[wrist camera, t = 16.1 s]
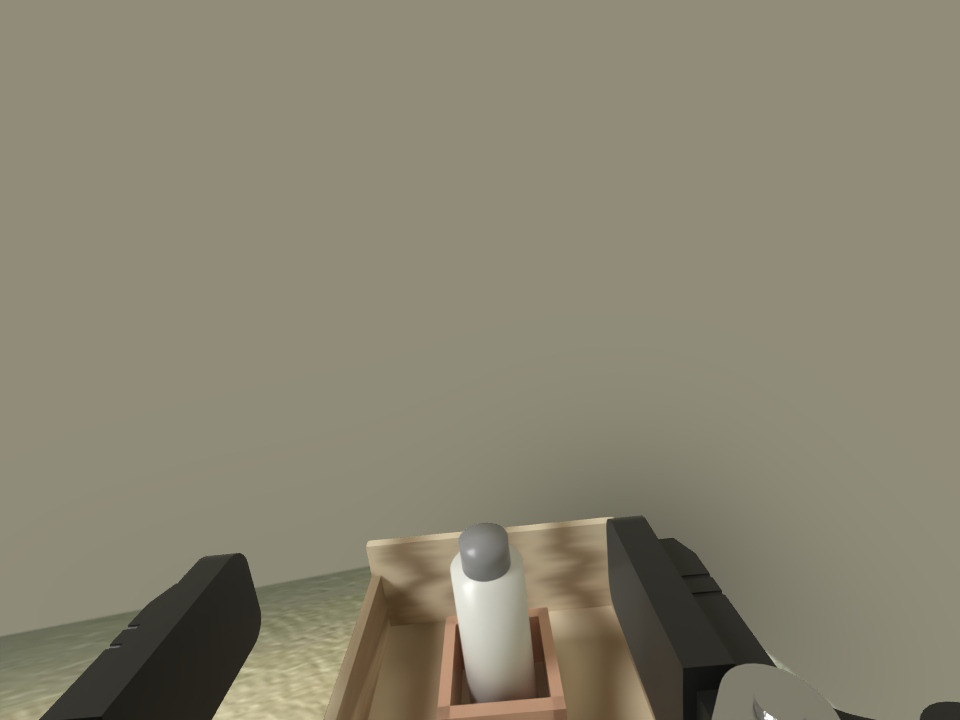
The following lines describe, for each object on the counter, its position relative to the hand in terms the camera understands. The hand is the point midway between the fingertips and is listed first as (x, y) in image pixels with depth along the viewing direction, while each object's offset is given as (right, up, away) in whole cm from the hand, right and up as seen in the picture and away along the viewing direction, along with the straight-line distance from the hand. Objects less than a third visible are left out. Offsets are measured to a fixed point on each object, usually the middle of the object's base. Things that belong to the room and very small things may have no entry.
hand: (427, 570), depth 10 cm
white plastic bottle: (+3, -20, +22) cm, 30 cm away
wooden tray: (+3, -21, +22) cm, 31 cm away
